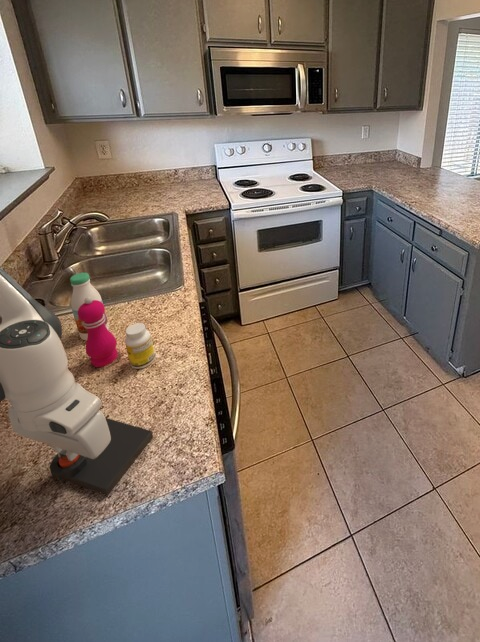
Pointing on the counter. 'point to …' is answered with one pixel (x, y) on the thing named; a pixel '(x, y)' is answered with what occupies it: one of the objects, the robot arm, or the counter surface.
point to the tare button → (67, 462)
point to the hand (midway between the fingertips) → (69, 456)
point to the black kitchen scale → (106, 459)
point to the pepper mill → (97, 333)
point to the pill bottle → (139, 346)
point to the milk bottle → (80, 293)
